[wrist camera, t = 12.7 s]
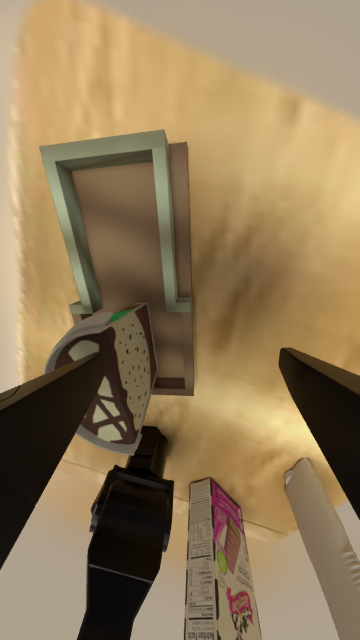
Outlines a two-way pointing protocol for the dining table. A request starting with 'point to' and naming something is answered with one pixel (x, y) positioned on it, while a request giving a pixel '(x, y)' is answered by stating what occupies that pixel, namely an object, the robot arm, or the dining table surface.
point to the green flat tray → (130, 237)
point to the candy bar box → (218, 569)
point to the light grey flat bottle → (326, 547)
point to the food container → (114, 374)
